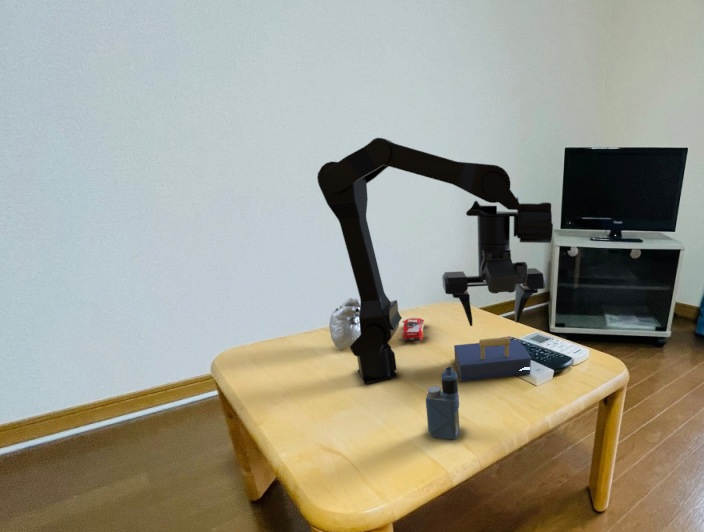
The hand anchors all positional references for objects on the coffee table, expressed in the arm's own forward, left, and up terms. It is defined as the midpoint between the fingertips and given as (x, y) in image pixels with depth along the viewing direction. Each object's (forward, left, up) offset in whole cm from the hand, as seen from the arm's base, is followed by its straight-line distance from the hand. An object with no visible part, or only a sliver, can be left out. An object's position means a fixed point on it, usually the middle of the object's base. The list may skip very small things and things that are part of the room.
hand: (494, 323), depth 77 cm
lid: (+1, +3, -8) cm, 9 cm away
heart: (-23, +31, -12) cm, 40 cm away
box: (+1, +3, -11) cm, 12 cm away
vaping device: (-17, -14, -12) cm, 25 cm away
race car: (-7, +30, -12) cm, 33 cm away
